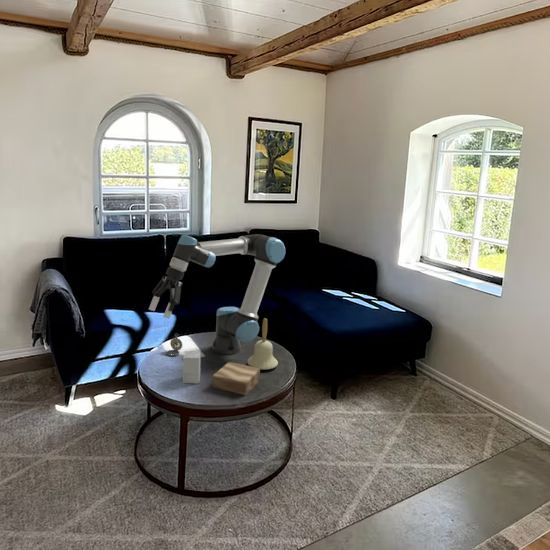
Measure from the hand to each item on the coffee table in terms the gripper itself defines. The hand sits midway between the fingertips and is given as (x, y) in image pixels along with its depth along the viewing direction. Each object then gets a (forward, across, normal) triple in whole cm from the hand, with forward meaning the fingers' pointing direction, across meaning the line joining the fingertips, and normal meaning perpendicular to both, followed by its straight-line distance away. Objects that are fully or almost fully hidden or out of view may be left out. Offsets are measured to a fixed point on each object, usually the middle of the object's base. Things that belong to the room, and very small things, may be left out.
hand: (158, 314), depth 216 cm
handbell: (+8, +12, +60) cm, 61 cm away
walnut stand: (+18, +21, +39) cm, 48 cm away
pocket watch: (+19, -25, +33) cm, 45 cm away
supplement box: (+24, +6, +26) cm, 35 cm away
